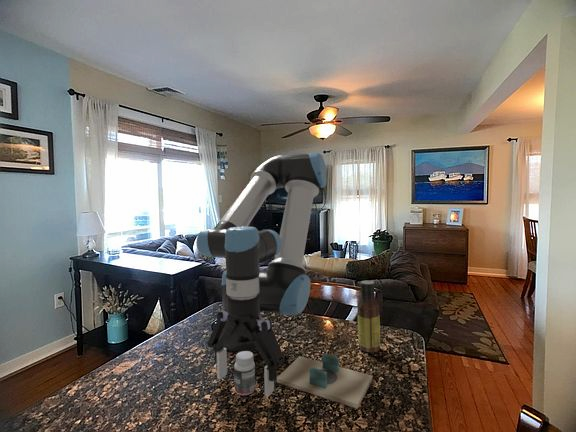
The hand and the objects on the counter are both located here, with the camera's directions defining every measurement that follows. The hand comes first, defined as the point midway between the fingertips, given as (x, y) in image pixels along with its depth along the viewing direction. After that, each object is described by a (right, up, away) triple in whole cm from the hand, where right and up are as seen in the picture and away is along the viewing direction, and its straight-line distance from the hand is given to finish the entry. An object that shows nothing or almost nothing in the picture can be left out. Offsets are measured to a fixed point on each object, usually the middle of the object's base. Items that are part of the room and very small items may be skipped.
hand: (244, 384), depth 74 cm
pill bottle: (0, -2, 0) cm, 2 cm away
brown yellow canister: (+34, 0, +19) cm, 39 cm away
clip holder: (+19, -1, +3) cm, 19 cm away
